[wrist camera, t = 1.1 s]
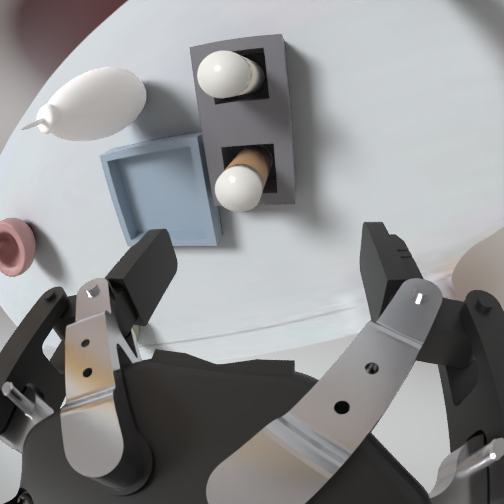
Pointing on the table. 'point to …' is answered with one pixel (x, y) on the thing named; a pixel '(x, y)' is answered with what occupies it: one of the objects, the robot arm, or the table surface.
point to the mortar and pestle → (16, 247)
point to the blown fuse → (244, 179)
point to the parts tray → (164, 190)
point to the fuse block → (250, 117)
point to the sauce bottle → (93, 105)
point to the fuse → (229, 75)
